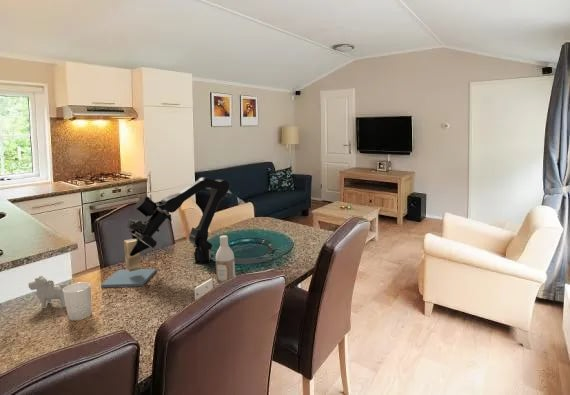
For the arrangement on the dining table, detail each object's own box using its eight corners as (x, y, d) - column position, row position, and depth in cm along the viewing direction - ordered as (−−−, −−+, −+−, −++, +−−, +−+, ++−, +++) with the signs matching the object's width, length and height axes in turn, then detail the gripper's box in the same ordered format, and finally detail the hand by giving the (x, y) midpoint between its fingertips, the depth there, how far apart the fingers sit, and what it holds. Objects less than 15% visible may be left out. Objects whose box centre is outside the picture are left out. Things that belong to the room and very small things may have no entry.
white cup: (99, 311, 126) (95, 283, 124) (79, 323, 118) (75, 293, 116) (81, 308, 128) (77, 281, 126) (60, 319, 121) (56, 290, 119)
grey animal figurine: (37, 302, 134) (33, 274, 132) (74, 301, 134) (70, 273, 132) (28, 309, 128) (23, 280, 126) (66, 308, 129) (62, 278, 127)
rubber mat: (156, 270, 162) (156, 268, 161) (142, 286, 146) (142, 283, 146) (119, 271, 162) (118, 269, 161) (101, 287, 146) (101, 284, 146)
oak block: (141, 268, 154) (138, 240, 152) (130, 271, 151) (127, 242, 149) (137, 266, 157) (134, 238, 155) (126, 268, 154) (123, 240, 152)
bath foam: (214, 290, 141) (210, 238, 137) (222, 282, 147) (219, 233, 144) (230, 291, 139) (227, 239, 135) (238, 284, 145) (236, 234, 142)
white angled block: (224, 301, 125) (210, 280, 124) (200, 315, 127) (186, 293, 126) (227, 297, 129) (213, 275, 128) (203, 310, 131) (189, 289, 130)
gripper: (132, 208, 160) (106, 238, 155) (145, 215, 145) (118, 248, 140) (152, 223, 166) (128, 252, 161) (167, 231, 151) (141, 264, 146)
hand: (128, 254), depth 152 cm, fingers closed on oak block, 5 cm apart
